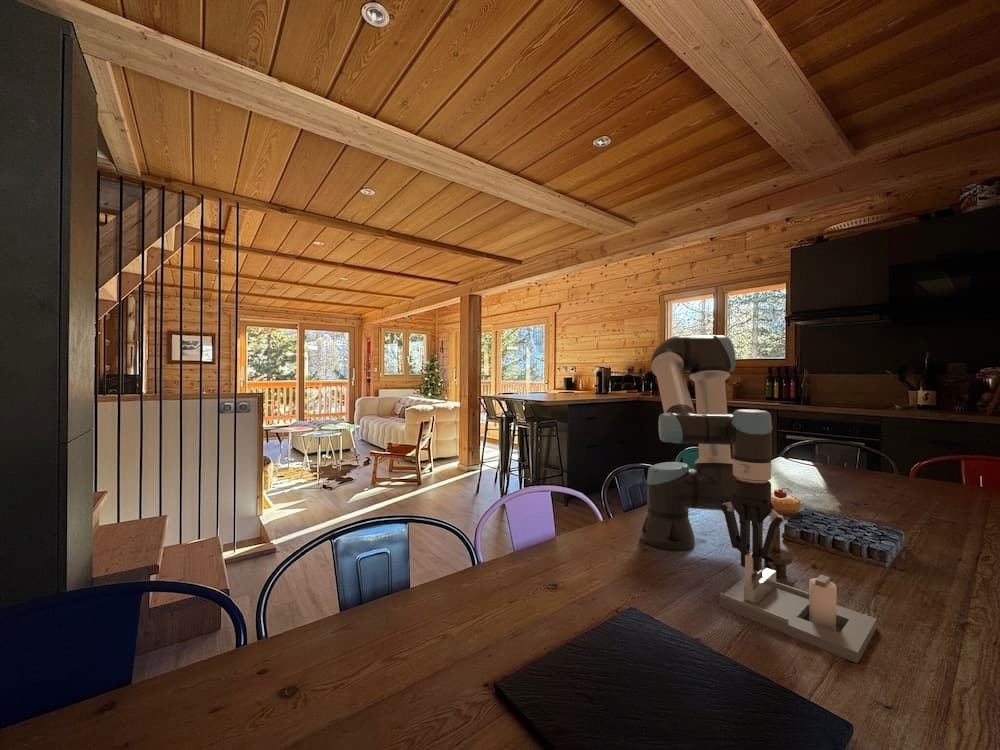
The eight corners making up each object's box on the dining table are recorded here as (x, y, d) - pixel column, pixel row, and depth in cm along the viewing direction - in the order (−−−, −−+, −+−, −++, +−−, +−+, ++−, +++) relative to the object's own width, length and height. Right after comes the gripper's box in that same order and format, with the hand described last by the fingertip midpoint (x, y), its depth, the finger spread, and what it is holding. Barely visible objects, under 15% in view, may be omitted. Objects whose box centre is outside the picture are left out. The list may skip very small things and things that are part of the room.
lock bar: (743, 602, 93) (743, 581, 93) (765, 582, 101) (765, 563, 101) (753, 606, 91) (754, 585, 91) (776, 585, 99) (776, 566, 99)
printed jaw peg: (806, 626, 88) (806, 577, 87) (812, 618, 90) (813, 571, 90) (832, 637, 84) (833, 586, 84) (838, 628, 87) (839, 579, 87)
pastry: (763, 505, 166) (763, 481, 166) (801, 510, 159) (800, 486, 159) (760, 512, 156) (760, 488, 156) (800, 518, 149) (800, 492, 149)
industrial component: (771, 564, 115) (772, 520, 115) (799, 576, 108) (799, 529, 108) (746, 571, 112) (747, 525, 111) (773, 584, 105) (774, 535, 105)
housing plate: (718, 606, 95) (718, 593, 95) (747, 582, 105) (748, 571, 105) (857, 663, 77) (857, 648, 77) (876, 628, 87) (876, 614, 87)
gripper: (714, 475, 99) (713, 577, 100) (778, 487, 89) (777, 600, 90) (728, 471, 104) (728, 567, 105) (790, 481, 94) (790, 589, 94)
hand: (751, 583), depth 97 cm, fingers closed
